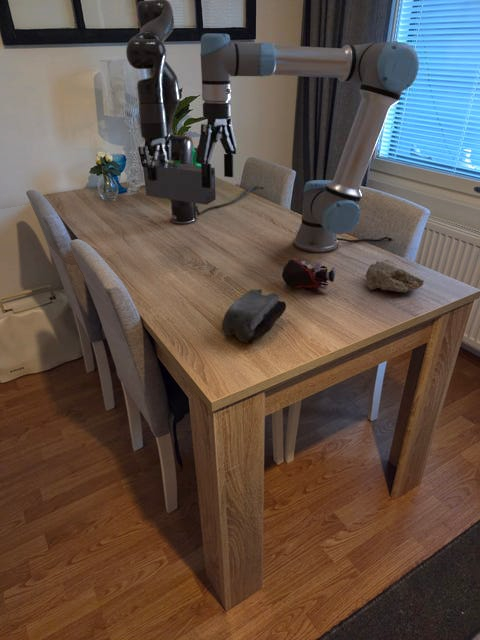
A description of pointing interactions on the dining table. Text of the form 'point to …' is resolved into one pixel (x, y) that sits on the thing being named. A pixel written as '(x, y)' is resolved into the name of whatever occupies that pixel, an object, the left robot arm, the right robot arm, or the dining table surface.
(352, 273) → the dining table surface
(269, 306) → the dark grey pouch
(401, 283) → the artifact
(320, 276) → the toy
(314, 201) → the right robot arm
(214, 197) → the box
